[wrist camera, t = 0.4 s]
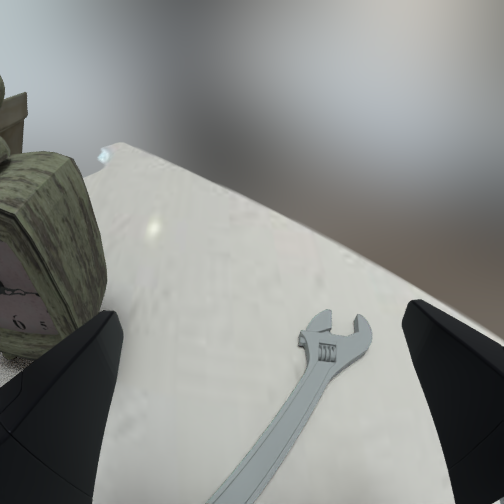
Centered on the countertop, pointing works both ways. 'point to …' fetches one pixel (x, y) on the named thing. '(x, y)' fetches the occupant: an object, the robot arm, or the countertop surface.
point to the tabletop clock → (45, 251)
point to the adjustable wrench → (295, 406)
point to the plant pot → (13, 121)
